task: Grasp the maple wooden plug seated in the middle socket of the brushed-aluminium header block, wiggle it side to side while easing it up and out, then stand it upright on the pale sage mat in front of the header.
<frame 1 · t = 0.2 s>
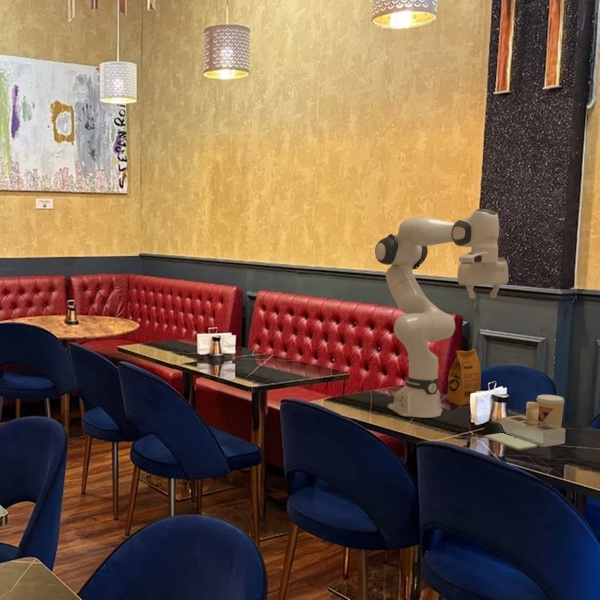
hand: (482, 298, 245), 47 cm above the table, fingers open, 8 cm apart
coffee cup: (548, 431, 255), on the table
plug: (532, 420, 245), in the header
coffee package: (463, 403, 296), on the table
mat: (510, 442, 240), on the table
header: (531, 437, 246), on the table
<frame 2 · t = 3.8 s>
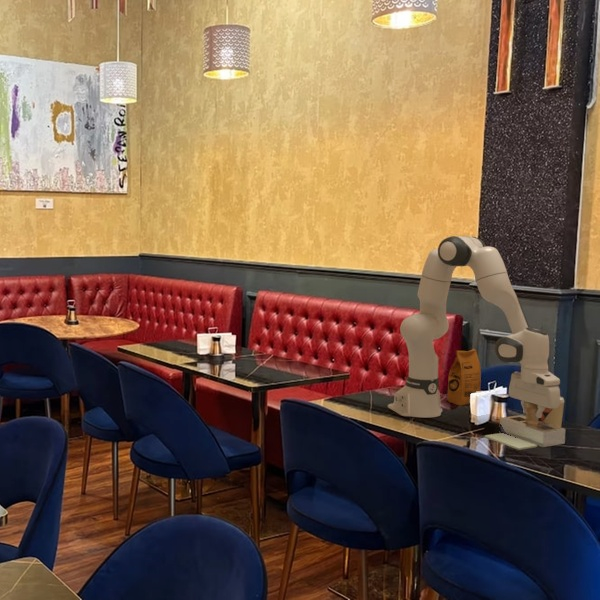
hand: (532, 415, 245), 8 cm above the table, fingers closed on plug, 4 cm apart
plug: (532, 420, 245), in the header, touching gripper
everything else where it was.
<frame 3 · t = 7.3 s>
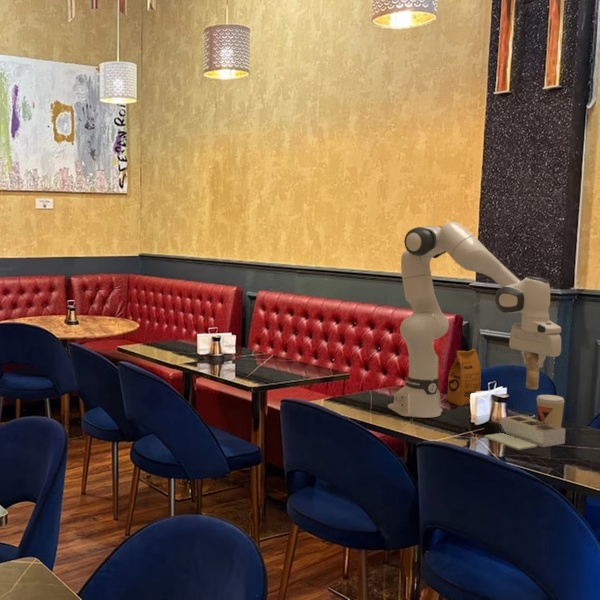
hand: (533, 365, 243), 25 cm above the table, fingers closed on plug, 4 cm apart
plug: (532, 370, 243), point 23 cm above the table, touching gripper
everything else where it was.
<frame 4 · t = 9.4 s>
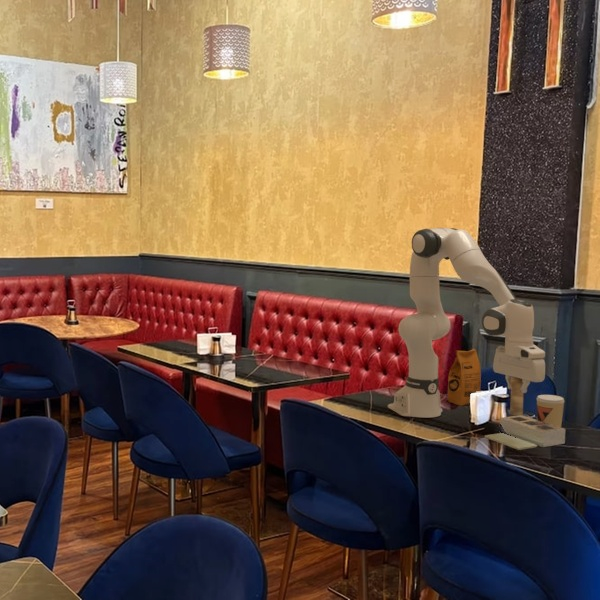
hand: (517, 390, 237), 18 cm above the table, fingers closed on plug, 4 cm apart
plug: (517, 395, 237), point 16 cm above the table, touching gripper
everything else where it was.
when the fingers open (10 cm above the table, at t = 11.2 s): plug drops 1 cm, resting on mat.
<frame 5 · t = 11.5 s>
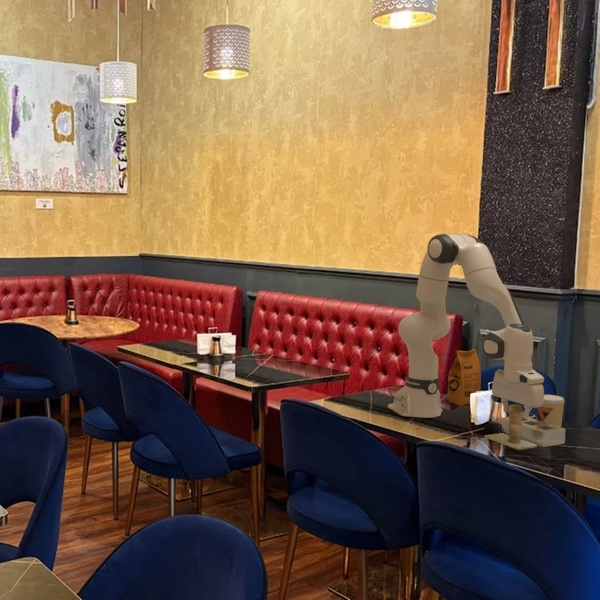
hand: (515, 414, 237), 10 cm above the table, fingers open, 7 cm apart
plug: (515, 423, 238), on the mat, point 7 cm above the table
everything else where it was.
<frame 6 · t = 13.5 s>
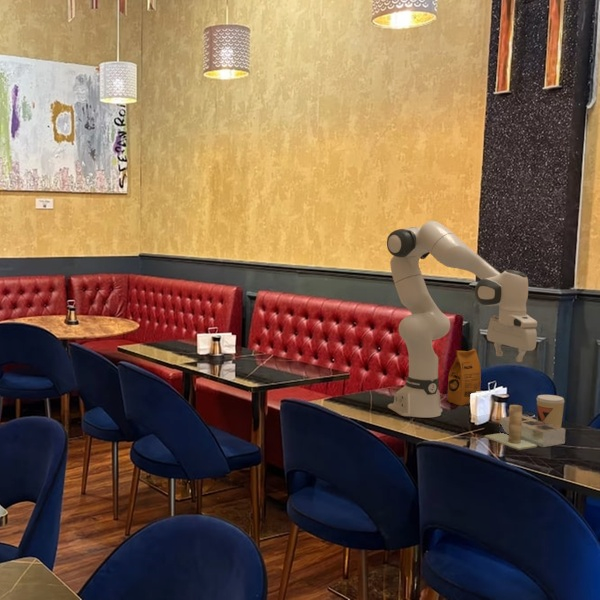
hand: (508, 358, 244), 27 cm above the table, fingers open, 8 cm apart
nothing on the table moved.
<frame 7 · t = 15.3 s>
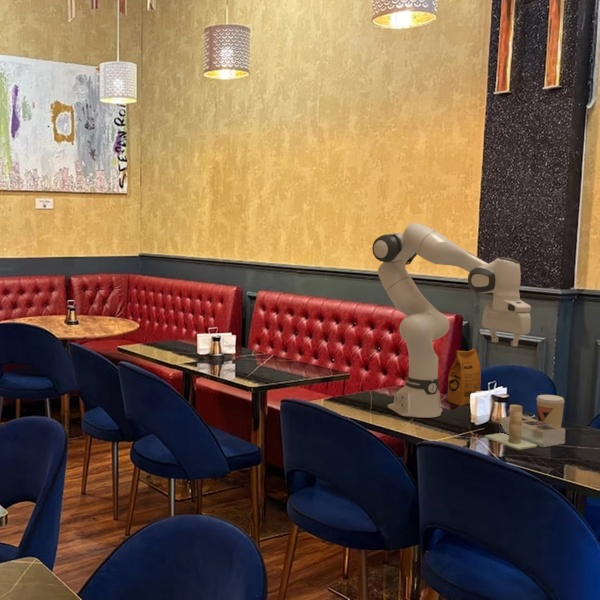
hand: (504, 344, 250), 31 cm above the table, fingers open, 8 cm apart
nothing on the table moved.
at the end: plug inside the target area (1.0 cm from its centre), point 6.6 cm above the table; plug tilted 1°; the gripper is holding nothing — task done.
